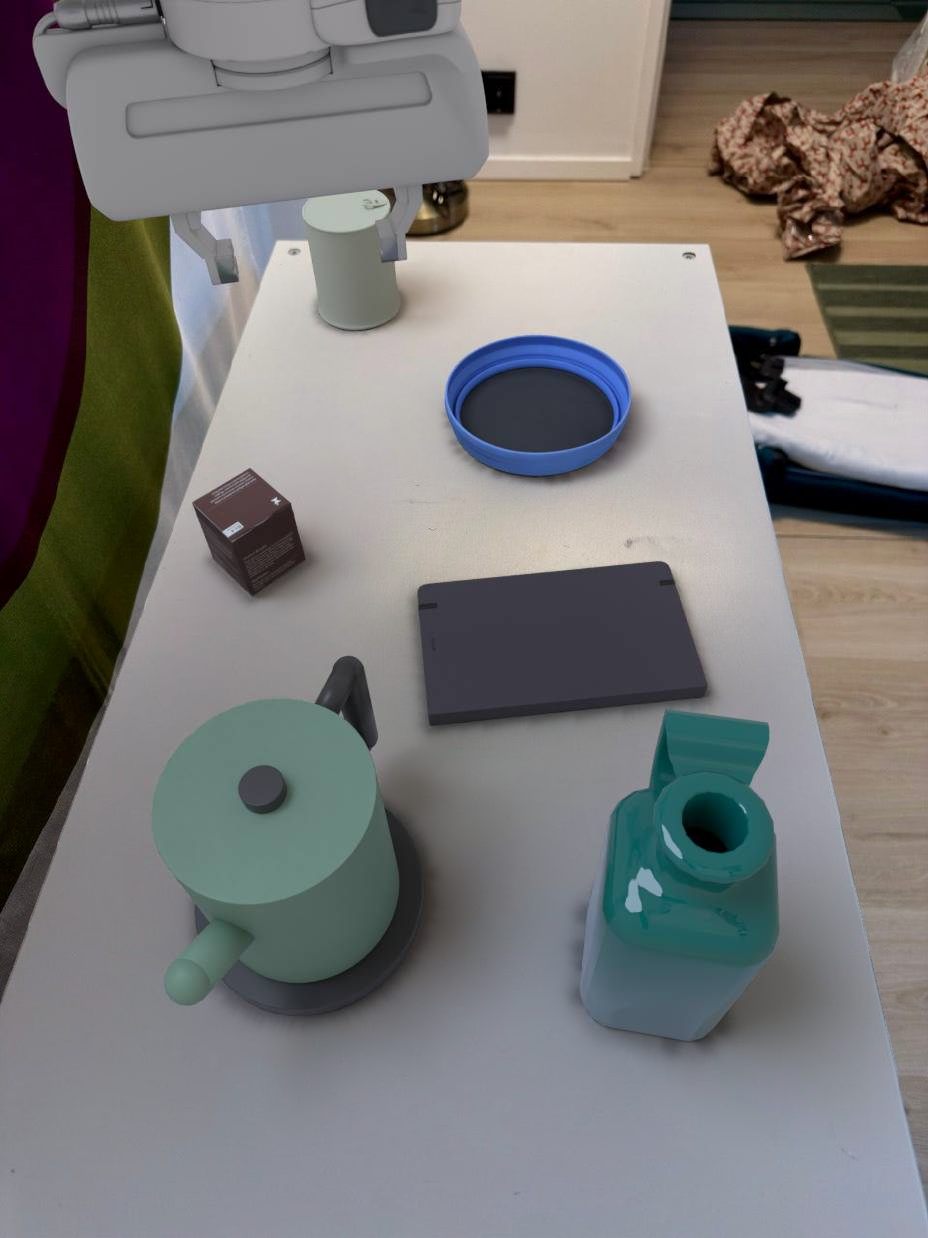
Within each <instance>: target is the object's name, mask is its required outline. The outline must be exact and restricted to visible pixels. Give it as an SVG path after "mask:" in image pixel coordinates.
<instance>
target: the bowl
mask: <svg viewBox="0 0 928 1238" xmlns="http://www.w3.org/2000/svg"><path fill="white" fill-rule="evenodd" d="M631 407H632V389H631V383H630V381H629V378H628V375H627V373H626V372H625V370H624V368H622V366H621V365H620V364H619V363H618V362H617V361H616V360H615V359H614V358H613V357H611V356H610V355H608V354H607V353H606V352H604V351H603V350H601V349H600V348H599V349H598V348H597V347H596V346H593V345H590V344H587V343H585V342H582V341H579V340H576V339H572V338H568V337H563V336H557V335H550V334H549V335H548V334H523V335H516V336H510V337H505V338H502V339H498V340H495V341H491V342H489V343H487V344H483V345H482V346H480V347H478V348H476V349H474V350H473V351H471V352H470V353H468V354H466V355H465V356H464V357H463V358H461V360H459V361H458V363H457V364H455V366H454V367H453V368H452V370H451V372H450V373H449V374H448V377H447V380H446V384H445V389H444V408H445V411H446V412H445V413H446V415H447V418H448V421H449V423H450V425H451V428H452V431H453V434H454V436H455V438H456V439H457V441H458V443H459V444H460V445H461V446H462V448H463V449H464V450H465V451H466V452H467V453H468V454H470V456H472V457H473V458H475V459H476V460H477V461H478V462H481V463H483V464H484V465H486V466H489V467H490V468H493V469H496V470H499V471H503V472H506V473H509V474H515V475H521V476H537V477H539V476H541V477H542V476H553V475H560V474H565V473H569V472H572V471H575V470H579V469H581V468H584V467H586V466H588V465H590V464H592V463H593V462H595V461H596V460H598V459H600V458H601V457H603V455H605V454H606V453H607V452H608V451H609V450H610V449H611V448H612V447H613V446H614V445H615V443H616V442H617V440H618V438H619V436H620V434H621V432H622V431H623V429H624V427H625V425H626V423H627V421H628V418H629V416H630V412H631Z"/></svg>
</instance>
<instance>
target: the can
mask: <svg viewBox="0 0 928 1238" xmlns="http://www.w3.org/2000/svg"><path fill="white" fill-rule="evenodd" d="M390 214H391V203H390V200H389V198H388V197H387V196H386V195H385V193H383V192H381V191H379V190H371V191H363V192H355V193H346V194H338V195H330V196H322V197H314V198H308V199H307V201H306V202H305V203H304V204H303V206H302V209H301V215H302V216H301V217H302V219H303V223H304V227H305V233H306V237H307V243H308V244H307V245H308V248H309V254H310V258H311V265H312V271H313V277H314V282H315V288H316V295H317V298H318V299H317V301H318V306H317V307H318V313H319V316H320V317H321V319H322V320H323V321H324V322H325V323H326V324H328V325H330V326H332V327H335V328H338V329H341V330H345V331H363V330H364V331H366V330H369V329H370V330H371V329H374V328H376V327H380V326H382V325H384V324H386V323H387V322H389V321H390V320H392V319H394V318H395V316H396V315H397V314H398V312H399V310H400V307H401V299H400V294H399V290H398V280H397V272H396V263H395V262H396V261H394V262H387V263H382V262H381V257H380V254H379V249H378V242H377V238H378V237H377V232H376V224H375V220H382V219H388V218H389V217H390Z"/></svg>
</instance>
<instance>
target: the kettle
mask: <svg viewBox="0 0 928 1238" xmlns="http://www.w3.org/2000/svg"><path fill="white" fill-rule="evenodd" d="M372 703H373V702H372V698H371V694H370V689H369V684H368V680H367V675H366V670H365V667H364V664H363V662H362V661H361V660H360V659H359V658H358V657H355V656H353V655H343V656H341V657H339V658H338V659H337V660H335V662H334V663H333V665H332V669H331V672H330V674H329V676H328V677H327V679H326V681H325V683H324V685H323V686H322V688H321V690H320V692H319V694H318V696H317V698H316V699H315V701H314V702H311V701H306V700H302V699H296V698H295V699H294V698H267V699H266V698H265V699H259V700H254V701H249V702H245V703H243V704H240V705H237V706H233V707H232V708H229V709H227V710H225V711H222V712H220V713H218V714H217V715H215V716H214V717H212V718H210V719H208V720H207V721H205V722H204V723H203V724H201V725H200V726H199V727H197V728H196V729H195V730H193V732H191V733H190V734H189V735H188V736H187V737H186V738H185V739H184V740H183V741H182V742H181V743H180V745H179V746H178V747H177V748H176V749H175V750H174V752H173V753H172V755H171V756H170V757H169V759H168V760H167V762H166V763H165V766H164V767H163V770H162V771H161V774H160V776H159V778H158V781H157V784H156V786H155V790H154V793H153V797H152V804H151V812H150V813H151V814H150V815H151V830H152V835H153V841H154V844H155V846H156V849H157V852H158V853H159V855H160V856H159V857H161V859H162V862H163V863H164V865H165V866H166V868H167V869H168V870H169V871H170V873H171V874H172V875H173V876H174V878H175V879H176V880H177V882H178V883H179V884H180V886H181V887H182V888H183V889H184V891H185V892H186V894H187V895H188V896H189V897H190V898H191V900H192V901H193V903H194V905H195V904H196V905H197V906H198V908H199V909H200V910H201V911H202V913H203V914H204V915H205V917H206V918H207V919H208V921H209V922H210V924H209V925H208V926H207V927H206V928H205V929H204V930H203V931H202V932H201V933H200V934H199V935H198V934H197V936H196V937H195V938H194V939H193V940H192V941H191V942H190V943H189V944H188V946H186V948H185V949H184V950H183V951H182V952H181V953H180V954H179V955H178V956H177V957H176V958H175V959H174V960H173V962H171V963H170V965H169V966H168V968H167V970H166V972H165V975H164V979H163V984H164V991H165V993H166V995H167V997H168V998H169V999H170V1000H171V1001H172V1002H173V1003H175V1004H177V1005H179V1006H185V1007H186V1006H187V1007H188V1006H193V1005H197V1004H199V1003H200V1002H202V1001H203V1000H204V999H206V997H207V996H209V994H210V993H211V992H212V991H213V989H214V988H216V986H217V985H218V984H219V982H220V981H222V980H221V979H222V978H223V976H224V975H225V974H226V973H227V972H228V970H229V969H230V968H231V967H232V966H233V965H234V963H235V962H236V961H237V960H238V959H239V960H240V961H241V962H242V963H243V964H245V965H246V966H247V967H248V968H250V969H251V970H253V971H254V972H256V973H258V974H260V975H262V976H264V977H267V978H270V979H273V980H276V981H281V982H288V983H307V982H315V981H319V980H323V979H327V978H330V977H332V976H335V975H337V974H340V973H342V972H343V971H345V970H347V969H349V968H351V967H352V966H354V965H355V964H356V963H358V962H359V961H360V960H362V959H363V958H364V957H365V956H366V955H367V954H368V953H369V952H370V951H372V949H373V948H374V947H375V946H376V945H377V943H378V942H379V941H380V940H381V938H382V937H383V935H384V933H385V932H386V930H387V929H388V927H389V924H390V922H391V920H392V918H393V915H394V912H395V909H396V906H397V901H398V896H399V871H398V866H397V861H396V857H395V852H394V848H393V844H392V839H391V835H390V831H389V826H388V822H387V818H386V813H385V809H384V807H385V805H384V801H383V800H384V799H383V796H382V793H381V792H382V791H381V788H380V783H379V779H378V775H377V771H376V766H375V762H374V760H373V757H372V754H371V751H372V749H373V748H374V747H375V746H376V744H377V743H378V740H379V732H378V726H377V722H376V717H375V712H374V708H373V704H372ZM340 714H342V716H341V715H340Z"/></svg>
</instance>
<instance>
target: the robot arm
mask: <svg viewBox="0 0 928 1238" xmlns="http://www.w3.org/2000/svg"><path fill="white" fill-rule="evenodd" d="M461 16H462V0H58V1H56V2H54V3H53V10H52V11H51V12H48V13H46V14H45V15H44V16H42V18H40V20H39V21H38V22H37V24H36V26H35V27H34V31H33V34H32V35H33V36H32V49H33V54H34V57H35V60H36V62H37V65H38V67H39V70H40V73H41V76H42V78H43V81H44V84H45V86H46V88H47V90H48V92H49V94H50V96H52V98H53V99H54V100H55V101H56V102H57V103H58V104H59V105H60V106H61V107H63V108H64V109H65V110H67V117H68V122H69V127H70V128H69V129H70V134H71V138H72V142H73V147H74V152H75V155H76V156H75V157H76V160H77V164H78V169H79V171H80V175H81V178H82V183H83V185H84V187H85V188H84V189H85V191H86V194H87V197H88V199H89V202H90V204H91V205H92V207H94V208H95V209H96V210H98V211H99V212H100V213H101V214H103V215H104V216H105V217H107V218H108V219H109V220H111V221H113V222H126V221H134V220H142V219H150V218H158V217H166V216H167V217H168V216H170V220H171V224H172V227H173V230H174V233H175V234H176V235H177V236H178V237H179V238H180V239H181V240H182V241H183V242H184V243H185V244H186V245H187V246H188V247H189V248H190V249H191V250H192V251H194V253H195V254H196V255H197V256H198V257H200V258H201V259H202V260H204V261H205V264H206V268H207V272H208V276H209V279H210V282H211V285H212V286H218V285H219V286H220V285H226V284H227V285H228V284H234V283H239V282H240V277H239V275H240V274H239V273H240V272H239V266H238V261H237V257H236V256H235V248H234V245H233V242H232V238H224V239H222V238H221V239H216V237H215V236H213V234H212V233H211V232H210V231H209V230H208V229H207V228H206V226H204V224H203V223H202V212H206V211H207V212H209V211H216V210H224V209H232V208H239V207H241V208H242V207H247V206H248V207H249V206H257V205H265V204H272V203H279V202H289V201H297V200H304V199H306V200H307V199H310V198H314V197H322V196H330V195H338V194H346V193H355V192H363V191H371V190H377V191H379V190H387V189H393V191H394V195H395V199H396V201H395V203H394V205H393V207H392V210H391V211H390V217H389V218H388V219H382V220H375V224H376V232H377V237H378V238H377V242H378V249H379V254H380V257H381V262H382V263H387V262H394V261H395V262H402V261H407V260H408V252H407V251H408V249H407V242H406V241H407V238H406V234H408V233H409V231H410V229H411V227H412V225H413V224H414V221H415V220H416V217H417V215H418V213H419V211H420V209H421V207H422V206H423V204H424V194H423V185H427V184H437V183H443V182H453V181H459V180H469V179H472V178H475V177H476V176H477V175H478V174H479V172H480V171H481V169H482V168H483V166H484V165H485V163H486V162H487V160H488V158H489V157H490V156H489V155H490V135H489V134H490V133H489V122H488V109H487V102H486V94H485V87H484V82H483V77H482V76H483V75H482V70H481V66H480V63H479V62H480V61H479V59H478V56H477V54H476V51H475V50H474V47H473V44H472V42H471V40H470V37H469V35H468V33H467V31H466V29H465V27H464V25H463V23H462V22H461ZM55 24H58V26H59V28H50V27H52V26H53V25H55Z"/></svg>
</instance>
